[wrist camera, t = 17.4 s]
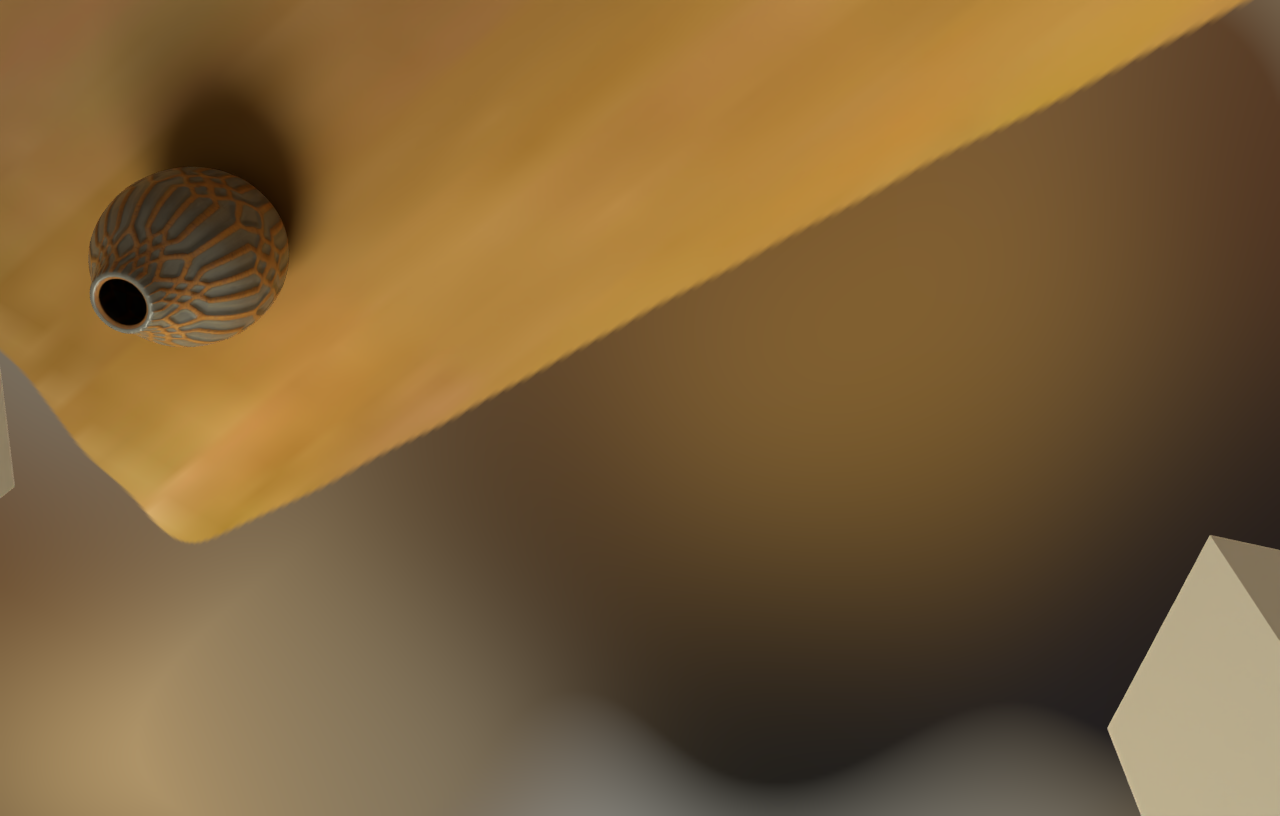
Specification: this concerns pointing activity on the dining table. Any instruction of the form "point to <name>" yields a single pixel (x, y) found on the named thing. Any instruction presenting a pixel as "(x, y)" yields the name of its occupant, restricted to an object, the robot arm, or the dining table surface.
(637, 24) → the dining table surface
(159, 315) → the vase
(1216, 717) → the robot arm
